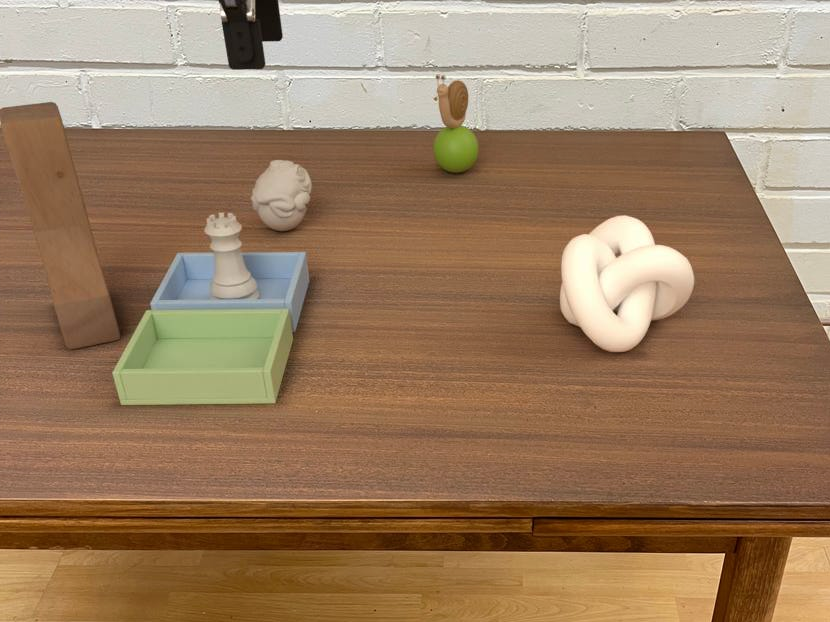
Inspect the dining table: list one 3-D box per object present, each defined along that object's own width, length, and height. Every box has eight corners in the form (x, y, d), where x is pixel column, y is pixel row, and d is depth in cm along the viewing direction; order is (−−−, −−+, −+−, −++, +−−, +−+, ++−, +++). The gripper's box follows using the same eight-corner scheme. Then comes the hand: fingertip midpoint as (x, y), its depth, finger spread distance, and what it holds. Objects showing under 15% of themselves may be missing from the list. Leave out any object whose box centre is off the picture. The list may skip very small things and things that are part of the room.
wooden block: (121, 341, 83) (66, 132, 72) (67, 351, 82) (2, 140, 71) (108, 297, 90) (55, 99, 79) (58, 306, 88) (-3, 106, 77)
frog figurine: (328, 222, 103) (321, 158, 99) (286, 246, 99) (277, 179, 94) (285, 211, 106) (277, 148, 101) (242, 233, 101) (231, 168, 97)
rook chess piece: (270, 300, 88) (257, 217, 83) (229, 317, 86) (214, 233, 81) (241, 285, 90) (227, 204, 86) (201, 301, 88) (184, 218, 83)
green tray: (120, 405, 75) (111, 372, 73) (153, 340, 83) (146, 309, 81) (275, 403, 75) (270, 371, 74) (293, 339, 83) (289, 308, 82)
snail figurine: (422, 178, 114) (417, 72, 106) (446, 161, 118) (443, 58, 111) (462, 185, 112) (461, 78, 104) (486, 167, 116) (486, 63, 109)
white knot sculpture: (520, 311, 87) (523, 217, 82) (633, 286, 91) (642, 195, 86) (580, 370, 79) (588, 270, 74) (701, 340, 83) (717, 243, 78)
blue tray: (157, 333, 84) (149, 303, 82) (183, 281, 92) (177, 252, 90) (295, 332, 84) (291, 301, 83) (309, 280, 92) (306, 251, 91)
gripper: (203, -174, 86) (235, 31, 96) (152, -156, 72) (196, 81, 83) (287, -175, 86) (310, 30, 96) (251, -157, 72) (282, 80, 83)
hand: (257, 54), depth 89 cm, fingers open, 9 cm apart
